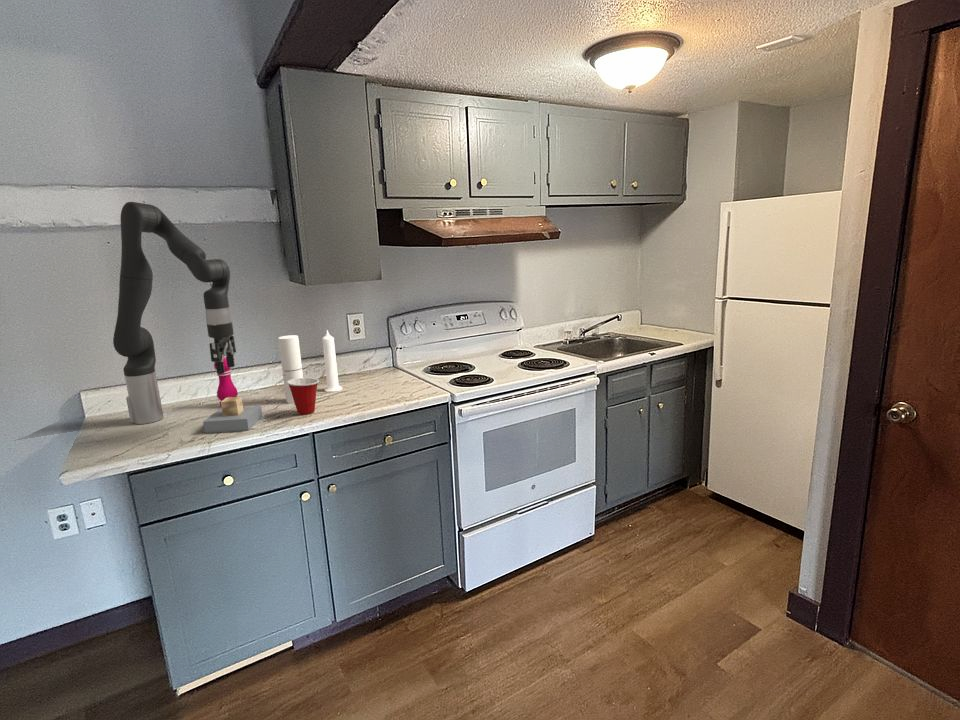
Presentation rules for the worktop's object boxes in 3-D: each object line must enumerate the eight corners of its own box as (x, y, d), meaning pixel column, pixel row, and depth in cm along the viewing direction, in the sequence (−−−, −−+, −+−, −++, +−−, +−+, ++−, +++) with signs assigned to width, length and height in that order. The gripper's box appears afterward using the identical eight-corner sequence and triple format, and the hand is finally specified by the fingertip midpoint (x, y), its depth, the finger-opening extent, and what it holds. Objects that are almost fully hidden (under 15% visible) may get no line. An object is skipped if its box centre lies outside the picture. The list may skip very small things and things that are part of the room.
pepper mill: (231, 408, 201) (223, 356, 196) (214, 407, 202) (206, 356, 197) (243, 402, 207) (235, 352, 203) (226, 401, 209) (219, 352, 204)
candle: (345, 387, 222) (339, 328, 216) (337, 392, 215) (330, 331, 210) (329, 387, 224) (323, 328, 218) (321, 392, 217) (314, 331, 211)
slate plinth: (205, 433, 175) (203, 421, 174) (222, 419, 188) (220, 408, 187) (248, 430, 176) (247, 418, 175) (262, 416, 189) (261, 405, 188)
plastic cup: (326, 413, 190) (322, 380, 187) (294, 419, 185) (290, 385, 182) (318, 405, 199) (314, 374, 197) (288, 411, 194) (284, 379, 191)
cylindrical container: (297, 403, 203) (289, 339, 197) (282, 402, 205) (274, 338, 199) (309, 398, 209) (302, 335, 203) (294, 397, 212) (286, 334, 206)
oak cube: (222, 416, 179) (220, 401, 177) (228, 411, 183) (226, 397, 182) (238, 415, 179) (236, 400, 178) (243, 410, 184) (241, 396, 183)
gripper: (216, 319, 181) (223, 365, 184) (197, 325, 167) (205, 376, 170) (239, 318, 181) (245, 364, 185) (222, 324, 167) (229, 374, 171)
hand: (226, 370), depth 178 cm, fingers open, 8 cm apart
